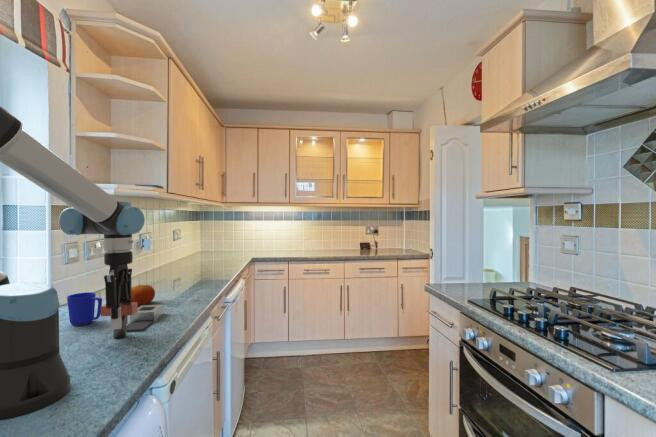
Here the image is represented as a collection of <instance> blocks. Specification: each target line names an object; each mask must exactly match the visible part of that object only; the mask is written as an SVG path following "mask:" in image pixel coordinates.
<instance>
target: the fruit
mask: <svg viewBox="0 0 656 437" xmlns="http://www.w3.org/2000/svg"><path fill="white" fill-rule="evenodd" d="M155 296H156V291H155V289H154V287H153V286H152V285H149V284H138V285H135V286H131V299H129V300H131V302H138V306H142V305H148V304H150V303H151V302H152V301H153V300H154V298H155Z"/></svg>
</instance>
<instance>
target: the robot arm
mask: <svg viewBox="0 0 656 437" xmlns="http://www.w3.org/2000/svg"><path fill="white" fill-rule="evenodd" d="M0 163H1V164H4V165H5V166H6V167H8V168H9V169H11V170H12V171H15V172H16V173H18V174H19V175H21V176H22V177H24V178H25V179H27V180H29V181H30V182H32V183H33V184H35V185H36V186H38V187H39V188H41V189H43V190H44V191H46V192H47V193H49V194H50V195H52V196H54V197H55V198H57V199H58V200H60V201H62V202H63V203H65V204H66V205H68V206H69V207H67V208H64V209H63V210H62V211H61V212H60V215H59V218H58V220H59V227H60V229H61V231H62V232H63V233H64V234H66V235H70V236H71V235H72V236H73V235H75V236H80V235H103V251H104V252H105V253H104V254H103V256H104V257H103V260H104V261H103V262H104V265H106V266H109V269H108V270H109V271H108V274H106V275H103V279H104V285H105V304H106V308H111V316H110V330H114V329H121V328H122V323H121V307H119V306H120V303H127V302H131V300H129V299H131V288H132V275H133V274H132V273H133V268H129V266H128V265H129V264H132V263H133V251H131V250H132V249H133V243H134V242H135V241H134V240H133V235H135V234H137V233H140V232H141V231H142V229H143V228H144V226H145V223H146V222H145V221H146V220H145V215H144V213H143V211H142V210H141V209H140V208H139V207H136V206H132V205H131V203H130V202H129V201H119V200H117V199H116V198H114V197H113V196H112V195H110V194H109V193H108V192H106V190H104V189H102V188H101V187H100V186H99V185H97V184H96V183H94V182H93V181H92V180H90V179H89V178H88V177H87V176H85V175H84V174H83V173H82V172H80V171H78V170H77V169H76V168H74V167H73V166H72V165H70V163H68V162H66V160H64V159H62V158H61V157H60V156H58V155H57V154H56V153H54V152H53V151H52V150H50V149H49V148H48V147H47V146H45V145H43V144H42V143H41V142H40V141H38V140H37V139H36V138H35V137H33V136H31V134H29V133H27V132H26V131H25V130H24V126H23V122H22V121H21V120H19V119H18V118H17V117H15V116H14V115H13V114H11V113H10V111H7V110H6V108H5V109H4V107H2V106H0ZM59 300H60V299H59V294H58V290H56V288H55V287H54V286H52V285H51V284H50V285H49V284H46V283H39V282H29V283H28V282H17V283H16V282H15V283H10V280H9V277H8V274H7V273H6V272H4V271H1V270H0V420H2V419H8V418H9V419H10V418H15V417H18V416H22V415H25V414H29V413H31V412H32V413H33V412H35V411H37V410H41V409H43V408H46V407H47V406H50V405H52V404H54V403H55V402H58V401H59V400H60V399H62V398H63V397H65V396H66V395H68V393H69V391H70V390H71V388H72V387H71V386H72V384H71V375H70V373H68V369H67V367H66V365H65V363H64V360H63V358H62V357H61V352H60V315H59V314H60V313H59V311H60V309H59V308H60V301H59ZM128 324H129V315H126V325H128Z"/></svg>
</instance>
